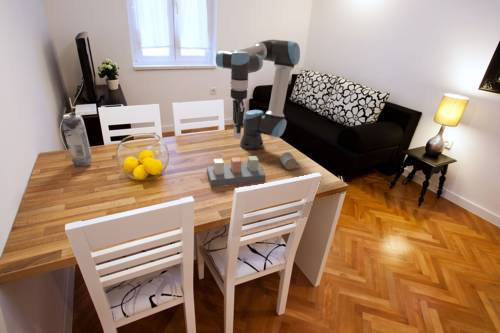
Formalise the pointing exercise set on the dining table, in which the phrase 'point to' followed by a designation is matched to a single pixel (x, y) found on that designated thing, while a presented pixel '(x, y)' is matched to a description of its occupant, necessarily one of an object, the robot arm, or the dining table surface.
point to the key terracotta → (236, 165)
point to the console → (235, 176)
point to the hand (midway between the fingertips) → (237, 137)
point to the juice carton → (77, 140)
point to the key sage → (252, 164)
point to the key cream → (218, 166)
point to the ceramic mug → (289, 161)
